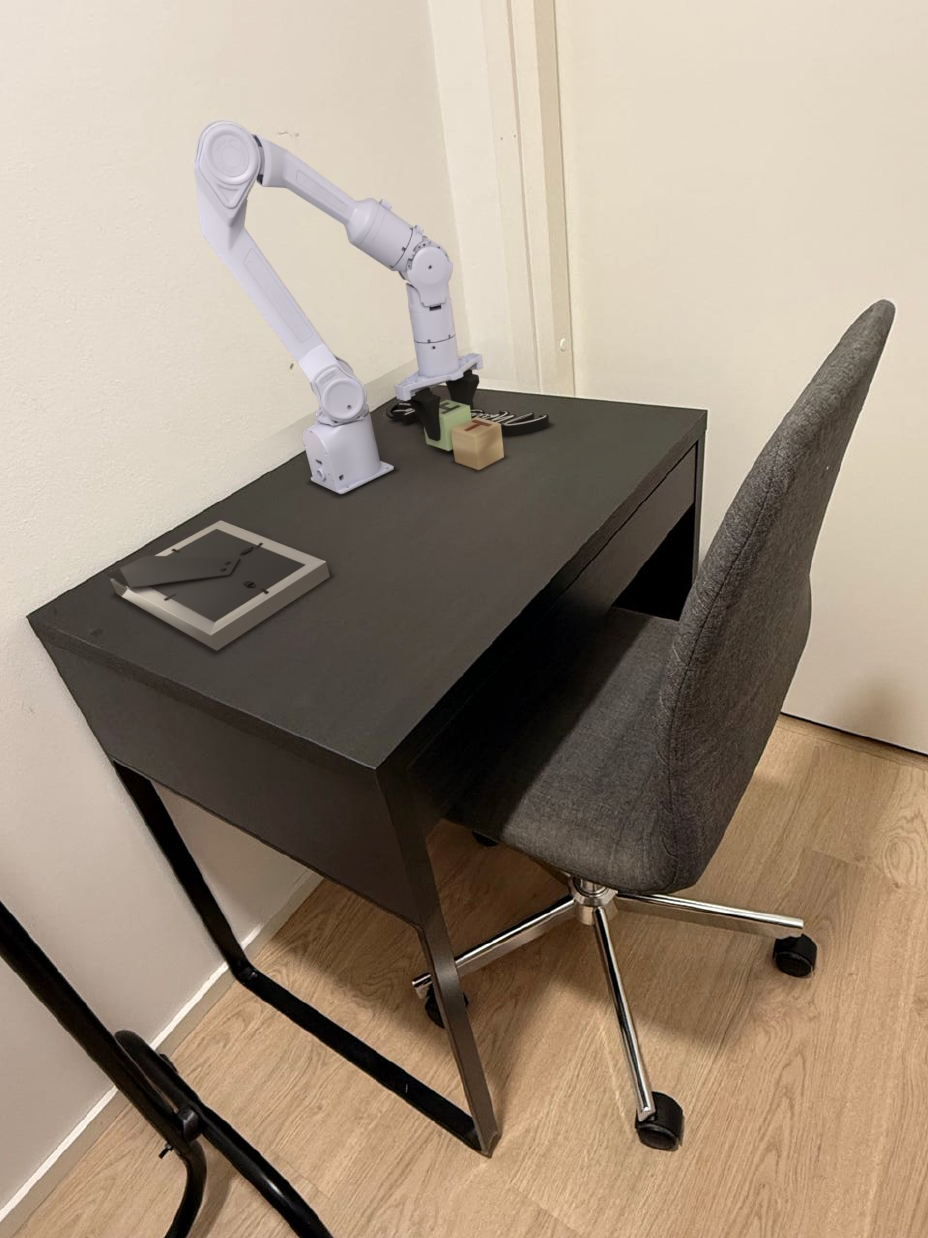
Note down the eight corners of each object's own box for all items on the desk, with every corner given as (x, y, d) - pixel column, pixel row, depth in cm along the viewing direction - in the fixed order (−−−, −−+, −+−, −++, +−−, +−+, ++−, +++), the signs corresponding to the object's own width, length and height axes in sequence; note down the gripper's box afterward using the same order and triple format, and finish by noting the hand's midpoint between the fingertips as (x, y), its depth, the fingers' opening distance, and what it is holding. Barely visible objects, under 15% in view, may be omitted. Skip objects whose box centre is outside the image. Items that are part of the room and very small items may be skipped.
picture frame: (117, 594, 89) (216, 651, 77) (107, 574, 87) (208, 629, 75) (225, 534, 98) (330, 576, 86) (218, 515, 96) (324, 555, 84)
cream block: (478, 470, 103) (474, 435, 100) (454, 462, 107) (450, 428, 104) (504, 457, 106) (500, 422, 103) (480, 449, 109) (476, 415, 106)
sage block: (448, 451, 106) (443, 416, 103) (426, 443, 110) (420, 410, 107) (474, 438, 109) (469, 404, 106) (451, 431, 112) (446, 398, 109)
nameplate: (558, 405, 115) (534, 431, 108) (559, 414, 116) (534, 441, 109) (406, 396, 127) (375, 420, 120) (407, 405, 127) (377, 429, 121)
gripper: (411, 357, 94) (428, 456, 102) (493, 324, 101) (503, 420, 109) (378, 349, 99) (397, 445, 107) (459, 319, 106) (470, 411, 114)
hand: (448, 432), depth 108 cm, fingers closed on sage block, 5 cm apart
